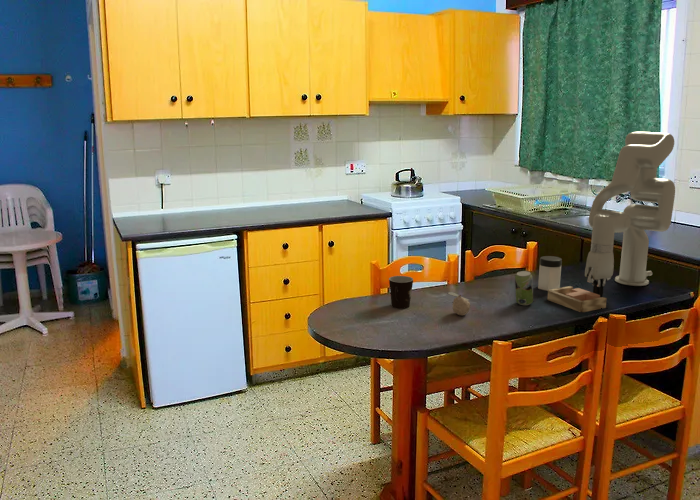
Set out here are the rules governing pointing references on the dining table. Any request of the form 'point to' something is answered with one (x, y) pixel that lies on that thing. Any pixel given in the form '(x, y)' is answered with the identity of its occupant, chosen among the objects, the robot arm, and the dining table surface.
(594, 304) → the dock
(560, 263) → the jar
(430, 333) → the dining table surface
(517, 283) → the beverage can
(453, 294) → the butter knife
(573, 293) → the t block
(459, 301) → the garlic bulb
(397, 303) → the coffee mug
